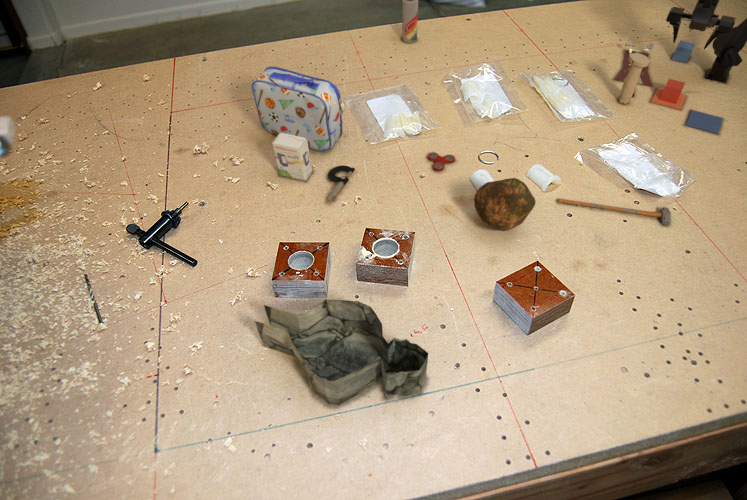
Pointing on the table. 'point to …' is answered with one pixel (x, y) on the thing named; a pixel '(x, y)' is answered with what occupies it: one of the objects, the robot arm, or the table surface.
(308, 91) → the lunch box
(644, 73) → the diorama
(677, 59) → the blue block
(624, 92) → the handle
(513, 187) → the rock
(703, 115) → the blue mat
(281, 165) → the ink box
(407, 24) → the spray bottle
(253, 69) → the table surface
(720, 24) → the robot arm
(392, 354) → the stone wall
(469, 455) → the table surface
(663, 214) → the sledgehammer
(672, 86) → the red block
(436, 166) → the fidget spinner
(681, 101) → the orange square mat
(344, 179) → the micrometer
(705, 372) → the table surface
